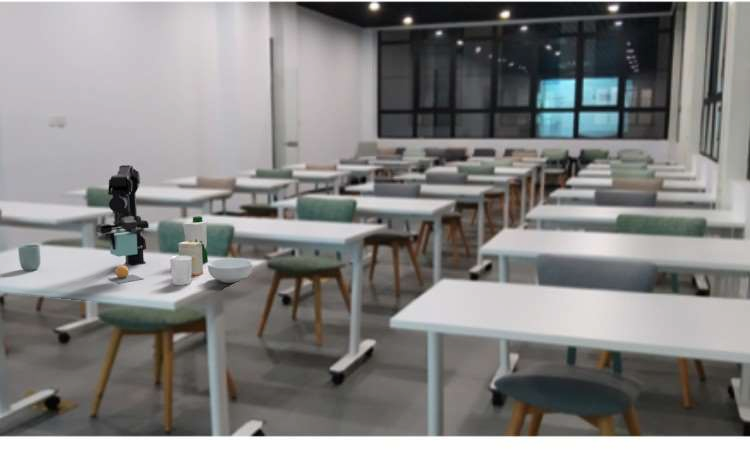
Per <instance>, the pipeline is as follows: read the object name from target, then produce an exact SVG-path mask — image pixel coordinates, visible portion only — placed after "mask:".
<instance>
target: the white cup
mask: <svg viewBox="0 0 750 450" xmlns="http://www.w3.org/2000/svg"><path fill="white" fill-rule="evenodd" d="M169 262H170V271H171V278H172V284H173V285H175V286H185V284H186V285H189V283H190V284H191V283H192V275H191V271H192V257H191V256H179V255H176V256H171V257H170V258H169Z"/></svg>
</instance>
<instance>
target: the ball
mask: <svg viewBox="0 0 750 450" xmlns="http://www.w3.org/2000/svg"><path fill="white" fill-rule="evenodd" d="M129 270H130V269H129V268H128V266H126V265H119V266H118V267H116V269H115V275H116V277H119V278H125V277H127V276H128V275H130V274H129V273H130V271H129Z"/></svg>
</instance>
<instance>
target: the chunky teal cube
mask: <svg viewBox="0 0 750 450" xmlns="http://www.w3.org/2000/svg"><path fill="white" fill-rule="evenodd" d="M114 233H115V232H114ZM114 242H115V250H113V248H112V246H111V244H110V243H109V252H110V254H111V255H114V257H115V256H116V257H119V258H120V257H124V256H125V257H126V255H133V254H138V252H137V234H134V233H131V232H125V231H123V232H116V233H115V234H114Z"/></svg>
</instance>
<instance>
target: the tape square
mask: <svg viewBox="0 0 750 450" xmlns="http://www.w3.org/2000/svg"><path fill="white" fill-rule="evenodd" d="M107 279H108V280H109V281H112V282H114V283H117V284H124V283H129V282H130V283H131V282H135V281H140V280H144V278H143V277H140V276H138V275H136V274H133V273H132V274H128V276H127V277H125V278H119V277H118V276H115V277H108V278H107Z"/></svg>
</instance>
